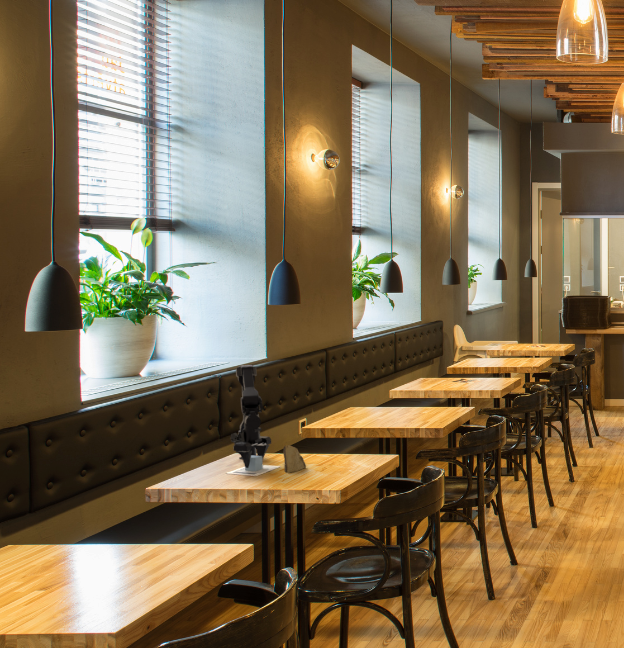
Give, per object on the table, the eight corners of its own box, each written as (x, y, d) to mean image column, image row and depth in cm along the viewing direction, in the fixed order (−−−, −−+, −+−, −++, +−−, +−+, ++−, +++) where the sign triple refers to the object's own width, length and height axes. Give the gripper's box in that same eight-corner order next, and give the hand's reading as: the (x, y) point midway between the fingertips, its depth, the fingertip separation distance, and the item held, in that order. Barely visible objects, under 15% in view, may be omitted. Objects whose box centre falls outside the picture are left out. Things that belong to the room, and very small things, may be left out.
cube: (252, 467, 320) (251, 455, 320) (262, 468, 318) (262, 456, 318) (245, 470, 316) (244, 457, 316) (255, 471, 313) (255, 458, 313)
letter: (251, 464, 328) (251, 464, 328) (280, 466, 321) (280, 466, 321) (225, 473, 312) (225, 473, 312) (256, 476, 305) (256, 475, 305)
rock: (303, 460, 322) (279, 459, 319) (308, 444, 317) (284, 443, 314) (308, 480, 313) (283, 479, 310) (314, 465, 309) (289, 464, 305)
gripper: (247, 421, 328) (249, 459, 329) (221, 428, 312) (223, 469, 312) (271, 422, 323) (272, 461, 323) (245, 430, 307) (246, 470, 307)
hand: (253, 465), depth 317 cm, fingers open, 9 cm apart
